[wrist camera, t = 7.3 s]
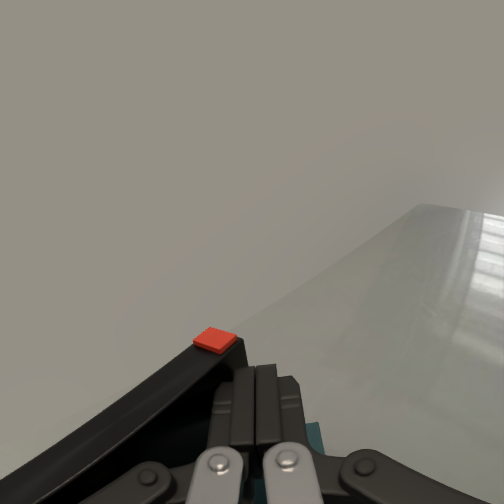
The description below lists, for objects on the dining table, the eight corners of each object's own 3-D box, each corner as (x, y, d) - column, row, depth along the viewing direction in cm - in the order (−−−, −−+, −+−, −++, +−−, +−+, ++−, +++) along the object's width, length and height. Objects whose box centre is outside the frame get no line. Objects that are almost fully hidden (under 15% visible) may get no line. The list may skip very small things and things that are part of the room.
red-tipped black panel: (111, 586, 5) (-10, 523, 2) (87, 562, 5) (-25, 485, 3) (263, 439, 13) (243, 332, 11) (237, 428, 14) (209, 323, 12)
